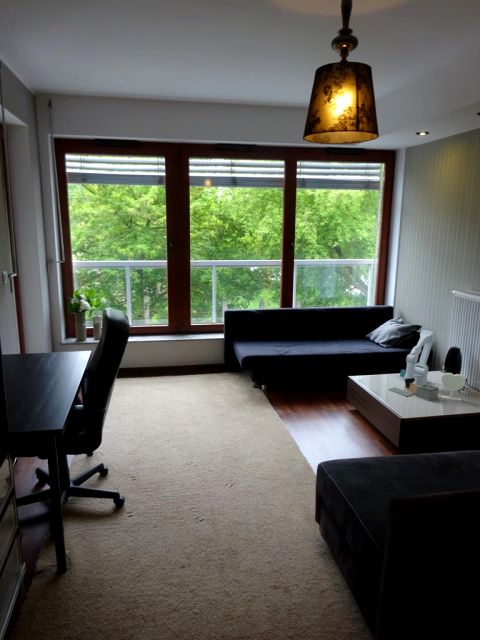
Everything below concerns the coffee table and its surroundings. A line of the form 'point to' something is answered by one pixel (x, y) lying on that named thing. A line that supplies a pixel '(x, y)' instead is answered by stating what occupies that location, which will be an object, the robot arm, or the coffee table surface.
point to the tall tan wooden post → (411, 388)
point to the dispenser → (427, 392)
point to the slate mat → (400, 392)
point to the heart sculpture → (453, 383)
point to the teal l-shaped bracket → (404, 373)
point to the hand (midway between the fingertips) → (408, 387)
